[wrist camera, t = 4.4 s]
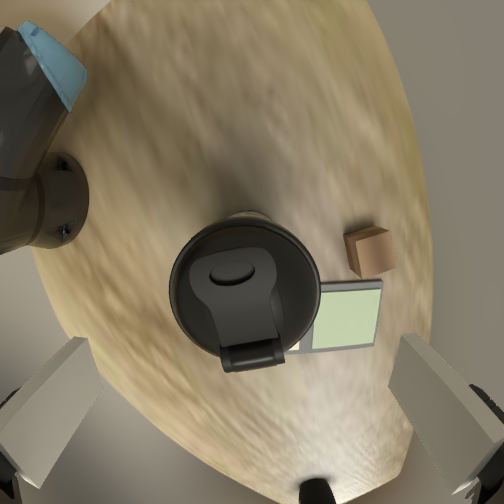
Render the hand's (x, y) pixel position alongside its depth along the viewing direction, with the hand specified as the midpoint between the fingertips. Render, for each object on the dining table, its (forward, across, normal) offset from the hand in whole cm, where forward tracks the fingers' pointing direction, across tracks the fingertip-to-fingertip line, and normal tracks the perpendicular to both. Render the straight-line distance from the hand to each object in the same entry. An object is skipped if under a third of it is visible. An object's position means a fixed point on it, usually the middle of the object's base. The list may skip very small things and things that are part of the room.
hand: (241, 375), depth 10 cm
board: (+28, +8, -11) cm, 31 cm away
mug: (+28, +15, -63) cm, 71 cm away
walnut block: (+28, +16, -1) cm, 32 cm away
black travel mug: (+28, 0, 0) cm, 28 cm away
